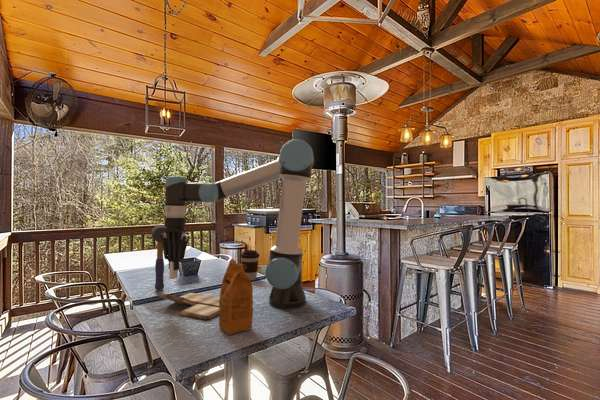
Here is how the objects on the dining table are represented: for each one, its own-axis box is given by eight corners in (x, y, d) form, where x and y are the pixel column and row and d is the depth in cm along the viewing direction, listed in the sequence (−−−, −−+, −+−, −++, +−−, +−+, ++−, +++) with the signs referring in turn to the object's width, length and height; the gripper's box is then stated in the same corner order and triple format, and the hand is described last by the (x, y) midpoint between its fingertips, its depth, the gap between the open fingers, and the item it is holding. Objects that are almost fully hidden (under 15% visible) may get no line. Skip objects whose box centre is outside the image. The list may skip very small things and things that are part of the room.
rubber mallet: (169, 292, 140) (170, 226, 140) (151, 294, 137) (152, 226, 137) (166, 285, 151) (167, 224, 151) (149, 287, 148) (150, 224, 148)
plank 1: (196, 305, 122) (197, 302, 123) (181, 300, 115) (182, 297, 115) (173, 301, 127) (174, 298, 128) (157, 296, 120) (158, 293, 120)
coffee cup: (239, 277, 170) (239, 249, 170) (257, 276, 173) (257, 249, 173) (241, 281, 160) (241, 252, 161) (260, 280, 163) (260, 252, 163)
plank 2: (223, 311, 117) (223, 308, 117) (207, 319, 109) (207, 316, 109) (198, 306, 122) (198, 303, 122) (180, 314, 113) (180, 310, 113)
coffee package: (243, 318, 111) (244, 257, 111) (255, 331, 100) (256, 263, 100) (215, 323, 106) (216, 259, 106) (225, 337, 96) (226, 266, 96)
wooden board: (238, 304, 126) (238, 299, 126) (224, 311, 118) (224, 306, 118) (190, 296, 136) (190, 291, 136) (174, 302, 128) (174, 297, 128)
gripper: (154, 216, 118) (153, 278, 118) (180, 218, 113) (179, 282, 113) (170, 215, 125) (168, 274, 125) (195, 217, 120) (193, 278, 120)
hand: (173, 278), depth 119 cm, fingers closed
